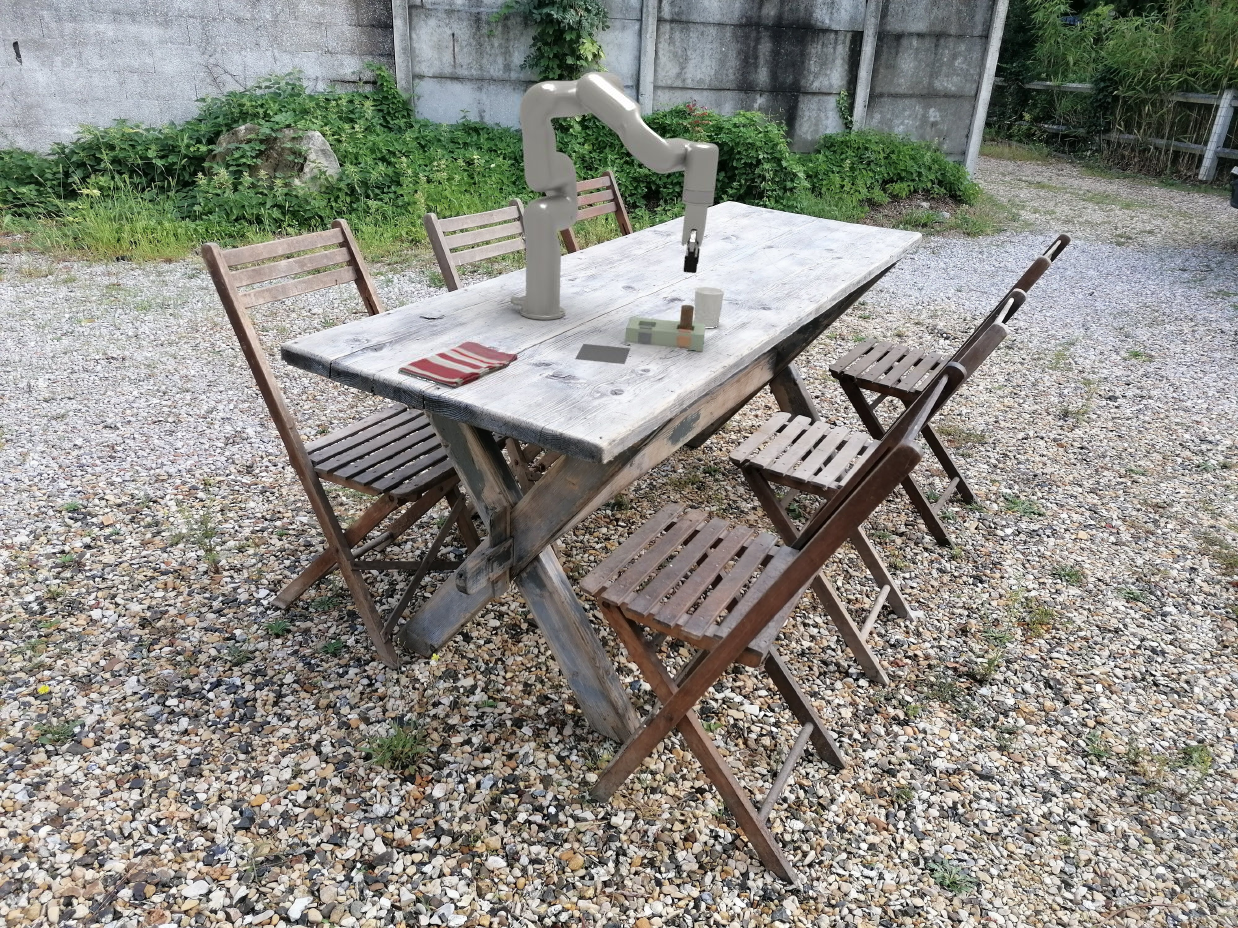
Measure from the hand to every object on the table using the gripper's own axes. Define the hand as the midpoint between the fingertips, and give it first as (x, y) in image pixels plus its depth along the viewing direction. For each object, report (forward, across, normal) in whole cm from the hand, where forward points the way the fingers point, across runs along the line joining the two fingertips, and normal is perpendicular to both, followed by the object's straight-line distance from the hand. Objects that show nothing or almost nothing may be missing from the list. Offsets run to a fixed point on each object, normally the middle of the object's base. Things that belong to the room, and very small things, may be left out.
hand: (690, 268), depth 210 cm
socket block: (+20, 0, -5) cm, 21 cm away
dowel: (+20, 0, 0) cm, 20 cm away
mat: (+20, +16, -19) cm, 32 cm away
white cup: (+20, -19, +5) cm, 28 cm away
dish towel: (+21, +33, -50) cm, 63 cm away
